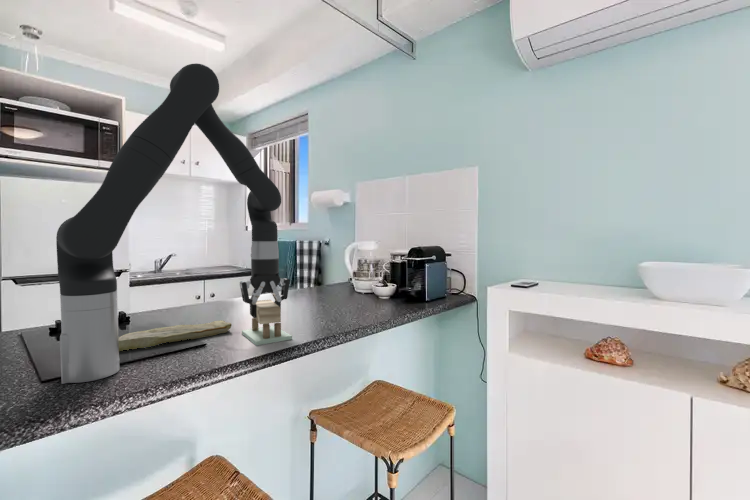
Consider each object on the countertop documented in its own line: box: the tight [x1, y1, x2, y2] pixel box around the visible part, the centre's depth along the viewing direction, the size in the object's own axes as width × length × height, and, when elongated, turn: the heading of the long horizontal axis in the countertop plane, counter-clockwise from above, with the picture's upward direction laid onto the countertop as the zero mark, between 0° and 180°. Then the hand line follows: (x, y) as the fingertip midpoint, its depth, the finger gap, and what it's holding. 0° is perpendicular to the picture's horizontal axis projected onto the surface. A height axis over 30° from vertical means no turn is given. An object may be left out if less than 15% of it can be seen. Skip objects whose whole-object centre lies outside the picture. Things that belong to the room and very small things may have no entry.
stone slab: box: [118, 320, 232, 352], centre depth 102 cm, size 12×4×30 cm
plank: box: [255, 299, 282, 325], centre depth 104 cm, size 14×6×4 cm, turn 27°
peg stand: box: [241, 317, 293, 346], centre depth 104 cm, size 14×10×4 cm
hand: (265, 315), depth 103 cm, fingers closed on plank, 5 cm apart
